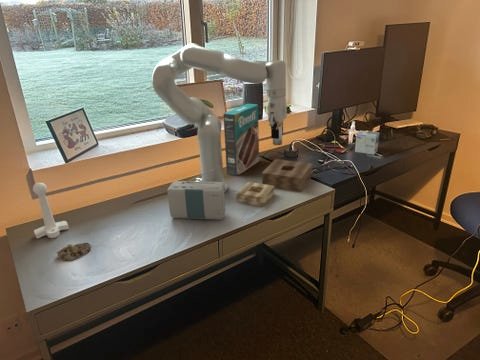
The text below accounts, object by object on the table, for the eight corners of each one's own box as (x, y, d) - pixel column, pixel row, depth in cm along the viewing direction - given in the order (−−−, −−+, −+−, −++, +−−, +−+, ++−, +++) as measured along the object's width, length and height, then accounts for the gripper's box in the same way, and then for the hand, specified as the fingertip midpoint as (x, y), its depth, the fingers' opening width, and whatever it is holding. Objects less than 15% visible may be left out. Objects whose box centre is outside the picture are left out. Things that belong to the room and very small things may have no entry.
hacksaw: (314, 174, 179) (314, 171, 178) (300, 168, 187) (300, 165, 186) (350, 163, 190) (350, 161, 189) (335, 157, 198) (335, 155, 197)
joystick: (66, 224, 143) (54, 176, 135) (71, 232, 137) (58, 183, 129) (34, 234, 137) (19, 185, 129) (38, 243, 132) (22, 192, 124)
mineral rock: (58, 260, 118) (53, 243, 124) (60, 269, 121) (56, 252, 126) (93, 250, 124) (88, 234, 129) (94, 259, 126) (89, 243, 131)
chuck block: (262, 185, 169) (261, 172, 166) (275, 171, 183) (275, 159, 181) (300, 192, 161) (301, 178, 159) (311, 176, 176) (312, 163, 174)
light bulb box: (377, 151, 204) (379, 132, 200) (374, 155, 199) (376, 135, 195) (357, 148, 209) (359, 129, 205) (354, 152, 204) (356, 133, 200)
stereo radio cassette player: (170, 220, 143) (163, 172, 135) (176, 209, 151) (170, 164, 143) (223, 222, 140) (220, 173, 132) (227, 211, 148) (224, 165, 140)
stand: (237, 201, 155) (236, 193, 154) (248, 190, 165) (248, 181, 164) (264, 206, 151) (264, 197, 149) (274, 194, 160) (274, 185, 159)
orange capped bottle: (271, 144, 158) (270, 119, 153) (275, 141, 161) (274, 116, 156) (280, 145, 156) (279, 119, 151) (283, 142, 159) (283, 117, 155)
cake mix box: (237, 175, 180) (234, 114, 168) (226, 173, 183) (223, 113, 171) (259, 161, 197) (258, 104, 185) (249, 159, 200) (247, 103, 188)
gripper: (277, 97, 141) (278, 143, 149) (292, 89, 155) (292, 131, 162) (259, 96, 144) (261, 142, 152) (275, 88, 158) (276, 130, 165)
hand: (277, 136), depth 157 cm, fingers closed on orange capped bottle, 4 cm apart
